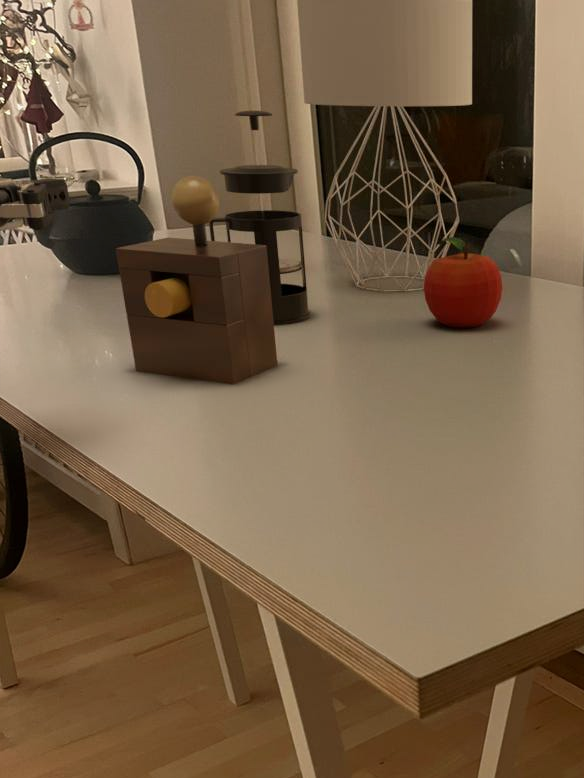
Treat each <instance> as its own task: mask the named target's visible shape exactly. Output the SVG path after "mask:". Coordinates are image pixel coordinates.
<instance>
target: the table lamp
mask: <svg viewBox="0 0 584 778" xmlns="http://www.w3.org/2000/svg"><path fill="white" fill-rule="evenodd" d="M296 6H297V17H298V31H299V32H298V33H299V47H300V61H301V74H302V89H303V102H304V104H306V105H317V106H345V107H346V106H347V107H373V109H372V111H371V112H370V114H369V116H368V117H367V119H366V121H365V123H364V125H363V126H362V128H361V130H360V132H359V133H358V135H357V137H356V138H355V140H354V141H353V144H352V145H351V147H350V148H349V150H348V152H347V154H346V155H345V157H344V159H343V161H342V162H341V164H340V166H339V167H338V169H337V171H336V173H335V175H334V176H333V180H332V182H331V186H330V188H329V191H328V195H327V197H326V201H325V210H324V222H325V225H326V227H327V230H328V231H329V233H330V236H331V237H332V240H333V242H334V244H335V246H336V248H337V250H338V252H339V254H340V256H341V258H342V260H343V262H344V265H345V267H346V269H347V270H348V273H349V274H350V276H351V279H352V280H353V283H354V285H355V286H356V287H357V288H360V289H363V290H367V291H376V292H413V291H419V290H420V291H421V290H424V282H425V276H426V274H427V271H428V268H429V267H430V265H431V264H432V263H433V261H434V260H435V259H438V258H443V257H447V254H448V251H449V248H450V246H451V244H452V243H450V242H449V241H446V244H445V245H444V247H443V248H442V249H441V250H440V252H439V254H438V255H437V256H436V257H435V252H436V251H437V249H438V248H439V247H440V246H441V244H440V245H439V243H438V239H439V236H440V232H441V229H443V234H444V237H443V238H442V239H441V240H443V239H444V238H451V237H455V233H456V230H457V228H458V225H459V224H460V216H459V210H458V203H457V197H456V195H455V192H454V190H453V188H452V185H451V182H450V179H449V176H448V175H447V173H446V171H445V169H444V168H443V166H442V165H441V163H440V161H439V160H438V159H437V157H436V155H435V154H434V153H433V151H432V149H431V148H430V146H429V145H428V143H427V141H426V140H425V139H424V137H423V135H422V134H421V132H420V131H419V129H418V128H417V126H416V124H415V123H414V122H413V119H412V118H411V117H410V116H409V115H410V114H408V112H407V110H406V108H404V107H455V106H456V107H457V106H459V107H460V106H470V105H473V0H296ZM382 107H383V108H382ZM388 107H390V110H391V117H392V122H393V128H394V134H395V135H394V136H395V139H396V140H395V141H396V146H397V151H398V158H399V165H400V170H401V174H400V175H399V176H398V177H397V178H395V179H394V180H393V181H391V182H390V183H389V184H387V185H386V186H384V187H383V186H382V185H381V181H380V180H381V168H382V159H383V149H384V140H385V129H386V121H387V112H388V111H387V110H388ZM395 107H396V108H397V110H398V112H399V114H400V117H401V118H402V121H403V123H404V126H405V127H406V130H407V132H408V134H409V136H410V139H411V140H412V143H413V145H414V147H415V149H416V151H417V154H418V157H419V159H420V161H421V162H422V164H423V167H424V169H425V172H426V173H427V176H428V178H429V180H428V181H427V182H426V183H425V182H424V181H422V180H421V179H420V178H419V177H418V176H416V175H414V173H412V172H411V171H410V170H409V168H408V163H407V158H406V153H405V149H404V145H403V140H402V135H401V132H400V127H399V123H398V118H397V113H396V109H395ZM381 108H382V109H383V110H382V116H381V121H380V122H381V123H380V126H379V127H380V128H379V133H378V142H377V147H376V155H375V161H374V167H373V173H372V179H371V181H369V182H367V181H366V180H365V179H364V178H363V177H362V176H360V174H359V173H358V172H356V170H357V168H358V166H359V163H360V161H361V158H362V155H363V153H364V150H365V148H366V146H367V143H368V141H369V138H370V135H371V133H372V131H373V128H374V125H375V123H376V120H377V118H378V115H379V112H380V110H381ZM370 120H371V122H370ZM408 121H409V122H408ZM369 122H370V124H369ZM409 123H410V124H411V126H412V127H413V129H414V131H415V132H416V133H417V135H418V136H419V139H420V140H421V142H422V143H423V145H424V146H425V148H426V149H427V151H428V153H429V154H430V156H431V157H432V159H433V160H434V162H435V164H436V165H437V167H438V168H439V170H440V172H441V173H442V175H443V179H442V181H441V184H440V185H439V184H438V183H437V182H436V179H435V176H434V173H433V170H432V168H431V166H430V165H429V163H428V161H427V158H426V156H425V153H424V152H423V150H422V148H421V147H420V144H419V142H418V140H417V138H416V136H415V134H414V132H413V130H412V127H411V126H410V124H409ZM368 124H369V127H368V129H367V131H366V133H365V136H364V138H363V141H362V143H361V145H360V148H359V149H358V153H357V155H356V157H355V160H354V161H353V163H352V166H351V168H350V172H349V173H348V176H347V178H346V179H345V180H343V182H342V183H341V184H340V185H339V184H338V183H339V182H338V178H339V175H340V172H341V171H342V169H343V168H344V166H345V164H346V162H347V160H348V159H349V157H350V155H351V153H352V151H353V150H354V148H355V146H356V144H357V143H358V142H359V140H360V137H361V136H362V134H363V132H364V131H365V129H366V127H367V125H368ZM399 142H400V143H399ZM380 145H381V146H380ZM400 147H401V148H400ZM379 151H380V152H379ZM379 153H380V156H379ZM401 153H402V155H401ZM402 156H403V159H402ZM378 158H379V165H378V177H377V178H378V179H377V181H375V176H376V170H377V164H378ZM403 160H404V165H405V169H406V170H405V171H404V166H403ZM406 174H407V181H408V189H409V200H410V203H409V201H408V194H407V193H408V192H407V184H406V178H405V175H406ZM355 175H356V177H358V178H359V179H360V180H361V181H363V182H364V183H365V184H366V185H364V186H363V187H362V188H360V189H359V190H358V191H357V192H355V193H354V194H353V195H352V196H351V193H352V188H353V183H354V179H355ZM410 175H411V176H412V177H413V178H415V179H416V180H417V181H418V182H419V183H420V184H422V185H423V187H422V188H421V190H420V191H419V192H418V193H417V194H416V196H414V198H413V194H412V186H411V179H410ZM401 177H402V181H403V189H404V199H405V204H404V203H403V202H402V201H400V200H399V199H398V198H397V197H396V196H394V195H393V194H392V193H390V191H388V190H387V189H388V188H390V186H392V185H393V184H394V183H395V182H397V181H398V180H399V179H401ZM350 178H351V181H350V185H349V190H348V189H347V188H348V184H349V180H350ZM445 181H446V183H447V186H448V188H449V192H450V194H451V196H450V194H449V193H447V192H446V191H445V189H443V186H444V184H445ZM430 184H431V187H432V188H431V187H430V186H429V185H430ZM344 185H345V186H344ZM375 185H376V186H377V190H376V189H375V188H374V186H375ZM343 186H344V191H343V194H342V196H341V193H340V189H341V188H342V187H343ZM367 187H369V188H370V189H371V193H370V194H371V195H370V208H369V211H370V212H369V221H368V223H367V224H366V225H365V227H363V229H362V231H361V232H360V234H359V235H358V236H357V233H356V230H355V226H354V223H353V220H352V215H351V213H350V205H351V203H350V202H351V200H353V199H354V198H355V197H356V196H357V195H358V194H360V193H361V192H363V191H364V190H365V189H366V188H367ZM335 188H336V190H335ZM426 188H427V189H428V190H430V191H431V192H432V193H433V194H434V198H435V201H436V205H437V212H438V213H437V214H436V215H434V216H433V217H432V218H431V219H430V220H428V221H427V222H426V223H424V224H423V225H422V226H421V227H419V228H418V229H417V230H416V231H414V229H412V223H413V211H414V210H413V208H414V207H413V205H414V203H415V202H416V201H417V199H418V198H419V197H420V196H421V194H422V193H423V191H425V189H426ZM380 189H381V190H380ZM438 189H439V190H438ZM334 190H335V191H334ZM347 190H348V194H347V197H348V198H347V200H345V197H346V192H347ZM374 192H375V193H376V195H377V210H376V212H375V213H374V214H373V202H374ZM383 192H385V193H386V194H388V195H389V196H390V197H391V198H392V199H394V200H395V201H396V202H398V203H399V204H400V205H402V207H404V208H405V209H406V219H407V220H406V222H407V223H406V224H407V227H406V228H404V229H403V230H402V228H400V227H399V226H398V225H397V224H396V223H395V222H394V221H393V220H392V219H391V218H389V217H388V216H387V215H386V214H385V213H384V212H383V211H381V210H380V194H381V193H383ZM441 192H442V193H443V194H444V195H446V197H448V199H450V200H451V201H452V202H453V203H454V206H455V212H456V217H455V220H454V223H453V225H452V227H451V228H450V229H449V231H448V232H447V231H446V228H445V223H444V219H443V215H442V208H441V200H440V195H441ZM336 194H338V195H337V196H338V198H339V203H340V216H339V222H338V221H337V220H336V219H335V218H333V216H331V200H332V198H334V196H335V195H336ZM346 204H347V214H348V217H349V221H350V225H351V228H352V231H353V232H351V231H350V230H349V229H348V228H347V227H346V226H345V225H343V207H344V206H345V205H346ZM409 209H410V213H409ZM409 214H410V215H409ZM377 215H378V223H379V231H380V240H381V241H380V242H381V247H382V248H380V249H379V250H378V251H377V247H376V241H375V236H374V230H373V221H374V219H375V217H376V216H377ZM381 215H382V216H383V217H385V218H386V220H388V221H389V222H390V223H391V224H392V225H393V226H394V227H395V228H397V229H398V230H399V233H398V234H397V235H396V236H395V237H393V238H392V239H391V240H390V241H388V242H387V243H386V244H385V245H384V239H383V229H382V221H381ZM327 218H328V221H329V222H328V221H327ZM436 218H437V221H436V225H435V229H434V233H433V236H432V240H431V244H430V245H428V244H427V243H426V242H425V241H424V240H423V239H422V238H421V237H420V236H419V235H418V233H419V232H420V231H422V230H423V229H424V228H425V227H426V226H427V225H428V224H430V223H431V222H432V221H434V220H435V219H436ZM334 223H335V224H337V225H338V226H339V230H338V231H337V229H336V227H335V225H334ZM329 224H330V225H329ZM438 226H439V227H438ZM368 227H370V234H371V239H372V245H373V250H372V249H371V248H370V247H369V245H367V244H365V243H364V242H363V241H362V240H361V239H360V238H361V236H362V235H363V234H364V232H365V231H366V230H367V228H368ZM406 231H407V232H406ZM345 232H346V233H347V234H348V235H350V236H351V237H352V238H353V239H354V240H355V246H356V247H355V248H356V249H355V250H356V251H355V253H356V258H355V256H354V253H353V252H352V251H353V250H352V249H351V246H350V243H349V241H348V238H347V235H346V233H345ZM446 232H447V233H446ZM341 234H343V237H344V240H345V242H346V245H347V248H348V250H349V253H350V256H351V258H352V260H353V263H354V266H355V268H356V271H355V269H354V268H353V266H352V263H351V261H350V258H349V256H348V255H347V252H346V250H345V248H344V246H343V243H342V241H341ZM401 235H404V236H405V237H406V242H405V244H404V245H403V247H402V249H401V250H400V252H399V254H398V255H397V257H396V258H395V260H394V262H393V264H392V265H391V267H390V269H389V268H388V267H387V263H386V261H387V260H386V253H385V249H386V248H387V247H388V246H390V244H392V243H393V242H395V240H396V239H398V238H399V237H400V236H401ZM414 236H415V237H416V238H418V240H419V241H420V242H421V243H422V244H423V245H424V246H425V247H426V248H427V249H428V250H429V251H428V255H427V258H426V260H425V261H424V262H423V263H422V264H421V266H420V263H419V260H418V257H417V253H416V250H415V248H414V244H413V241H412V238H413V237H414ZM448 236H449V237H448ZM340 247H341V248H340ZM361 248H362V249H361ZM410 249H412V251H413V255H414V258H415V261H416V265H417V267H418V270H417V271H416V272H415V274H414V275H413V276H408V270H409V258H410ZM362 250H363V251H364V252H365V253H366V254H367V256H368V257H369V259H371V260H372V262H371V266H370V269H369V270H368V268H367V265H366V261H365V258H364V255H363V253H362ZM368 250H369V251H370V252H371V253H372V254H373V255H374V257H372V256H371V254H370V253H369V252H368ZM404 250H405V256H404V257H405V259H404V271H403V275H393V274H392V270H393V269H394V267H395V266H396V263H397V261H399V259H400V257H401V255H402V253H403V252H404ZM381 252H382V256H383V260H382V259H381V258H380V256H379V254H380V253H381ZM359 254H360V256H361V259H362V263H363V265H364V269H365V272H366V275H367V278H365V279H363V276H362V273H361V271H360V268H359ZM440 256H441V257H440ZM379 262H380V263H381V265H382V266H383V267H384V270H383V269H382V268H381V266H380V264H379ZM374 266H376V269H377V272H378V276H375V277H373V276H372V277H371V275H372V272H373V268H374ZM423 268H424V269H423ZM422 269H423V272H422ZM381 273H382V274H381ZM419 273H420V276H421V277H418V275H419ZM382 275H383V276H382ZM383 278H385V279H386V278H392V279H393V280H394V282H395V283H396V285H398V287H399V288H400V289H384V286H383V281H382V279H383ZM396 278H403V285H401V284H400V283H399V282H398V281H397V279H396ZM406 278H408V279H410V281H409V282H408V283H407V284H406ZM375 279H379V282H380V288H381V289H378V288H368V284H369V282H370V280H375ZM415 279H417V280H418V279H419V280H423V281H422V285H421V287H419V288H410V289H409V288H408V287H409V286H410V285H411V284H412V283H413V281H414V280H415ZM365 281H366V283H365ZM359 283H360V284H361V285H359Z"/></svg>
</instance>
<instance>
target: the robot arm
mask: <svg viewBox="0 0 584 778" xmlns="http://www.w3.org/2000/svg"><path fill="white" fill-rule="evenodd" d="M70 206H71V199H70V194H69V189H68V184H67V182H66V181H65V180H64V179H62V178H43V179H42V178H41V179H32V180H29V179H23V180H21V181H18V180H15V179H13V178H2V177H0V232H4V231H8V230H12V229H19V228H22V227H23V226H24V227H28V228H29V229H32V230H34V231H42V230H43V229H46V228H48V226H49V225H50V223H51V221H52V220H53V214H52V212H56V211H63V210H68V209H69V208H70Z"/></svg>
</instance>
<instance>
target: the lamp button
mask: <svg viewBox="0 0 584 778" xmlns="http://www.w3.org/2000/svg"><path fill="white" fill-rule="evenodd" d="M145 301H146V304H147V306H148V308H149V310H150V311H151V312H152V313H153V314H154V315H156V316H158V317H167V316H171V315H174V314H177V313H180V312H183V311H186V310H187V309H188V308H189V307H190V305H191V293H190V290H189V288H188V286H187V285H186V283H185V282H183V281H182V280H181V279H179V278H170V279H166V280H162V281H158V282H154V283H151V284H149V285H148V287H147V288H146V290H145Z"/></svg>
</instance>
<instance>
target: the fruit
mask: <svg viewBox="0 0 584 778" xmlns="http://www.w3.org/2000/svg"><path fill="white" fill-rule="evenodd" d="M443 238H444V237H443ZM443 238H442V239H443ZM442 239H441V240H440V241H439V242H438V244H439V245H440V246H441V245H442V244H444V243H445V242H446V241H449V242H450V243H451V244H452V245H453V246H454V247H456V248H457V249H458V250H460V251H462V252H463V253H457V254H453V255H446V256H445V257H443V258H441V257H439V258H438V259H436V258H434V261H433V263H432V262H431V264H430V267H429V268H428V267H427V268H428V271H427V270H426V271H427V274H426V276H425V277H424V278H425V282H424V287H423V288H424V289H423V292H424V300H425V302H426V305H427V308H428V309H429V311H430V313H431V314H432V315H433V317H434V318H435V319H436V321H437V322H439V323H441V324H443V325H444V326H447V327H451V328H463V329H464V328H465V329H467V328H475V327H479V326H481V325H483V324H485V323H486V322H488V321H490V320H491V318H492V317H493V316H494V314H495V313H496V311H497V309H498V307H499V304H500V302H501V300H502V294H503V278H502V275H501V272H500V270H499V267H498V266H497V264H496V263H495V261H494V260H493V259H492V258H491V257H488V256H485V255H482V254H477V253H469V249H470V245H469V244H467V245H466V242H465V241H464V240H462V239H461V238H459V237H455V236H453V237H451V238H449V237H447V238H444V239H443V240H442Z"/></svg>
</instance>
